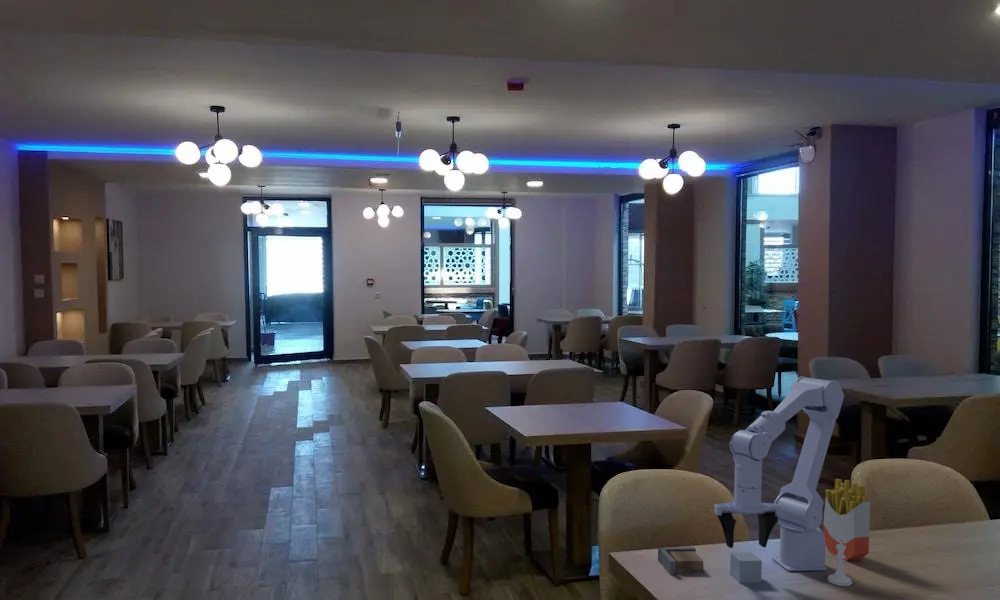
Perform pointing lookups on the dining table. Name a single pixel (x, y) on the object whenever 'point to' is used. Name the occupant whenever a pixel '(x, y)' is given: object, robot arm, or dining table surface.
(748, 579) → the blue-grey cube
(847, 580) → the chess piece
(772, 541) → the dining table surface
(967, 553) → the dining table surface
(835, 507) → the french fries container
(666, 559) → the corner jig
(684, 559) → the walnut block
